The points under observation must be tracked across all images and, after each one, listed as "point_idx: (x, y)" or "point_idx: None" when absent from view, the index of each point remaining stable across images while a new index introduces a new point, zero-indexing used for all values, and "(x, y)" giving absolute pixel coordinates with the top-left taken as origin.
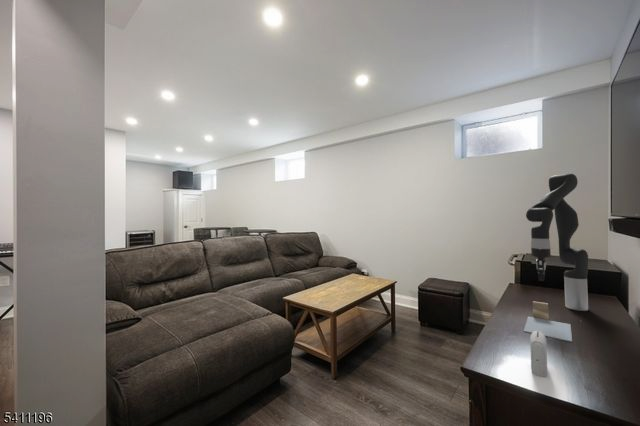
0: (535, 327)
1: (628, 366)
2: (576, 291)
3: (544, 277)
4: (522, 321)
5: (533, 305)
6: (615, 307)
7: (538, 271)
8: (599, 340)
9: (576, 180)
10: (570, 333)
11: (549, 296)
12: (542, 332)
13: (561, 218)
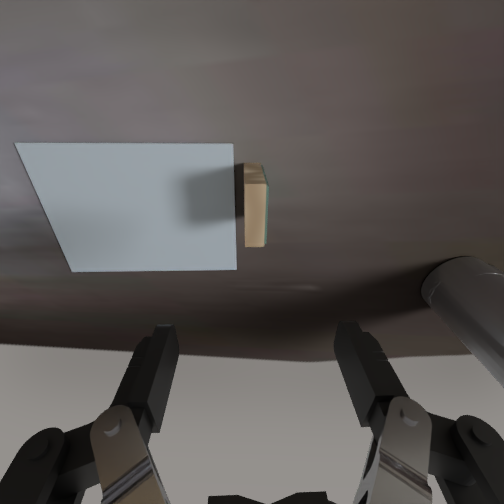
0: (101, 180)
1: (32, 340)
2: (478, 340)
3: (334, 349)
4: (149, 125)
5: (244, 181)
6: None
7: (22, 457)
8: (153, 314)
9: None
10: (140, 269)
11: None
12: (66, 204)
13: None
